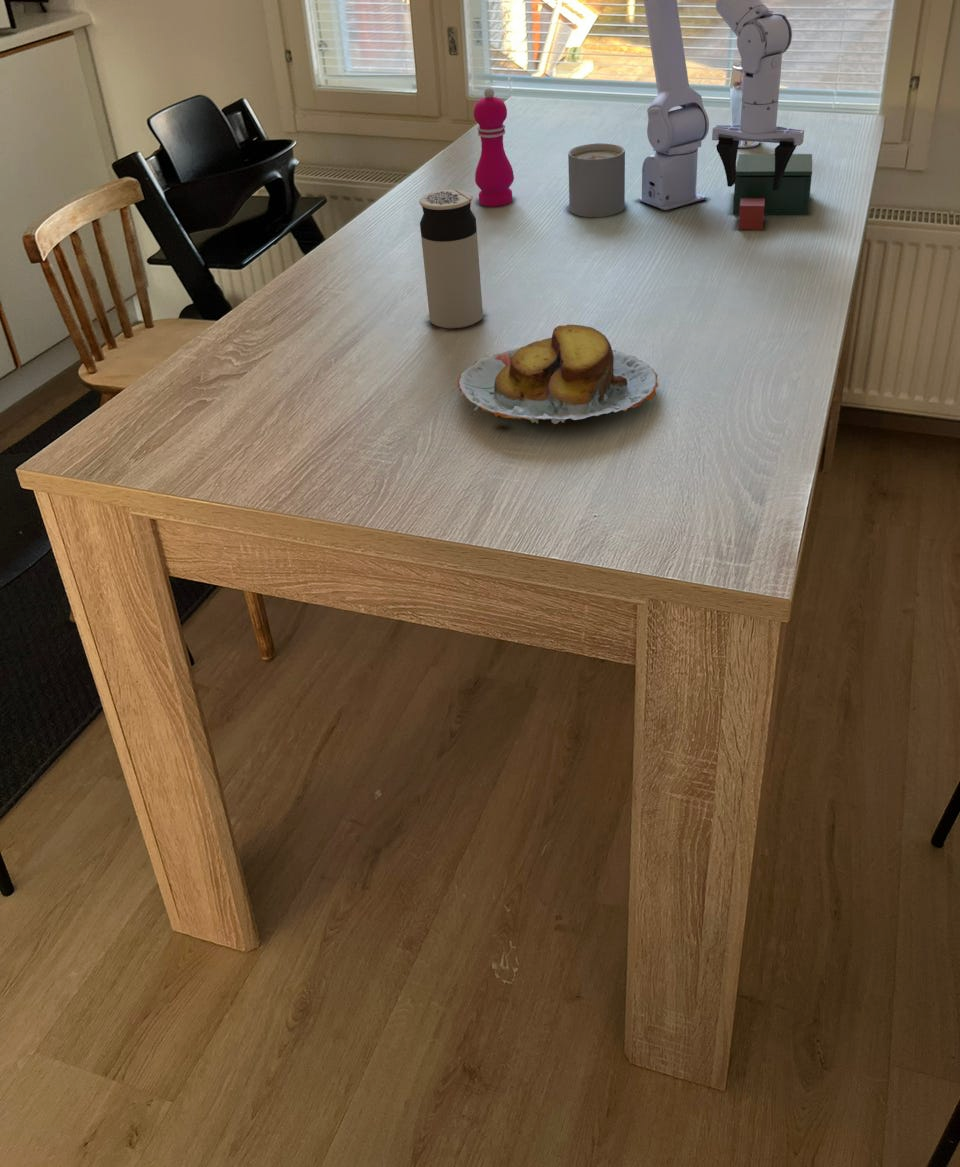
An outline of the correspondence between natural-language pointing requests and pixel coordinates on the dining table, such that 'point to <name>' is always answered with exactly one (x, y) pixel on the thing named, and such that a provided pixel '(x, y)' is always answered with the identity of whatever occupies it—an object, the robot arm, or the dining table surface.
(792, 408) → the dining table surface
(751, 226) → the block
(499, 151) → the pepper mill
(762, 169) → the bin lid
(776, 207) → the bin
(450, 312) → the travel mug
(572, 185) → the coffee mug
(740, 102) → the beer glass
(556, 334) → the food on plate
